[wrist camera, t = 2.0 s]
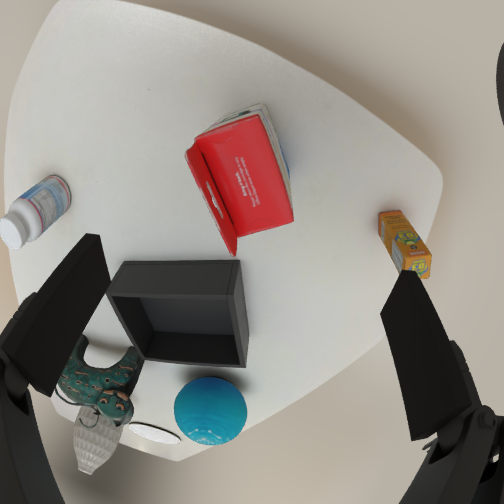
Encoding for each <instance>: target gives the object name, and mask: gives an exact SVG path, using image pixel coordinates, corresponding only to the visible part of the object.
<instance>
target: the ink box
mask: <svg viewBox="0 0 504 504" xmlns="http://www.w3.org/2000/svg"><path fill="white" fill-rule="evenodd" d="M194 142H195V143H194V144H193V146H192V147H191V148H190V149H188V150H187V151H186V153H185V159H186V161H187V163H188V165H189V168H190V169H191V172H192V174H193V176H194V178H195V181H196V183H197V185H198V187H199V189H200V192H201V193H202V196H203V198H204V200H205V202H206V204H207V206H208V209H209V211H210V213H211V215H212V217H213V219H214V221H215V223H216V226H217V228H218V230H219V231H220V234H221V236H222V238H223V240H224V242H225V244H226V246H227V248H228V250H229V252H230V254H231V256H232V257H235V256H236V250H237V238H239V237H242V236H246V235H249V234H253V233H256V232H260V231H264V230H267V229H271V228H275V227H278V226H282V225H285V224H288V223H292V222H294V217H293V208H292V199H291V188H290V176H289V169H288V166H287V163H286V161H285V158H284V155H283V152H282V149H281V146H280V143H279V141H278V138H277V135H276V132H275V129H274V127H273V124H272V121H271V119H270V116H269V113H268V111H267V108H266V105H265V103H260V104H257V105H254V106H252V107H249V108H246V109H243V110H241V111H238V112H235V113H232V114H230V115H227V116H224V117H222V118H220V119H219V120H218V121H217V122H216V123H214V124H213V125H212V126H210V127H209V128H208V129H207V130H205V131H204V132H203V133H202V134H200V135H199V136H197V137H196V138H195V140H194ZM207 187H208V188H207ZM208 189H209V190H208ZM209 191H210V192H209ZM210 193H211V194H210ZM211 195H212V196H211ZM212 197H213V199H214V202H215V204H216V206H217V208H218V209H217V208H216V207H215V206H214V204H213V201H212ZM218 211H219V212H218Z"/></svg>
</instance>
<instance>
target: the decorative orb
mask: <svg viewBox="0 0 504 504" xmlns="http://www.w3.org/2000/svg"><path fill="white" fill-rule="evenodd" d="M174 415H175V420H176V422H177V425H178V427H179V428H180V430H181V431H182V432H183V433H184V434H185V435H186V436H187V437H189V438H190V439H191V440H193V441H195V442H197V443H200V444H205V445H219V444H223V443H226V442H228V441H230V440H232V439H234V438H235V437H236V436H237V435H238V434H239V433H240V432H241V430H242V428H243V427H244V425H245V422H246V419H247V406H246V403H245V400H244V398H243V396H242V394H241V392H240V391H239V390H238V389H237V388H236V387H235V386H234V385H232V384H231V383H229V382H227V381H226V380H223V379H220V378H216V377H202V378H198V379H195V380H193V381H191V382H189V383H188V384H186V385H185V386H184V387H183V388H182V390H181V391H180V392H179V393H178V395H177V397H176V399H175V403H174Z"/></svg>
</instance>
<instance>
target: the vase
mask: <svg viewBox="0 0 504 504" xmlns="http://www.w3.org/2000/svg"><path fill="white" fill-rule="evenodd" d="M96 410H97V409H96ZM94 412H96V411H95V410H94V409H92V408H88V407H85V406H81V408H80V410H79V413H78V415H77V418H76V422H75V425H74V432H73V444H74V449H75V453H76V457H77V460H78V469H79V470H81V471H83V472H85V473H87V474H90V475H92V473H93V471H94V470H95V469H97V468H98V467H99V466H101V465H102V464H103V463H105V462H106V461H107V460H108V459H109V458H110V456H111V455H112V454H113V452H114V451H115V449H116V447H117V445H118V443H119V440H120V437H121V434H122V431H123V427H124V425H120V426H119V427H116V426H115V424H112V423H111V422H109V421H108V420H106V419H105V418H104V417H103V416H99V420H98V422H97V417H98V415H95V414H93V413H94ZM79 418H81V421H82V423H83V424H84V425H86V426H93V425H94V424H95V423H96V422H97V425H96V426H95V427H93V428H87V427H85V426H83V425H82V424H81V423H80V421H79Z"/></svg>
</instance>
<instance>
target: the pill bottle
mask: <svg viewBox="0 0 504 504" xmlns="http://www.w3.org/2000/svg"><path fill="white" fill-rule="evenodd" d="M69 206H70V192H69V189H68V187H67V185H66V183H65V182H64V181H63V180H62V179H61V178H59V177H57V176H48V177H46V178H45V179H43V180H42V181H40V182H39V183H38V184H36V185H35V186H33V187H32V188H31V189H29V190H28V191H27V192H25V193H24V194H23V195H21V196H20V197H19V198H17V199H16V200H15V201H14V202H13V203H12V204H11V206H10V208H9V211H8V214H6V215H5V216H4V217H3V218H1V219H0V235H1V238H2V239H3V241H4V242H5V244H6V245H7V246H8V247H9V248H11V249H13V250H19V249H20V248H21V247H22V246H23V245H25V243H26V242H32V241H35V240H36V239H37V238H38V237H39V236H40V235H41V234H42V233H43V232H45V231H46V230H47V229H48V228H49V227H50V226H51V225H52V224H53V223H54V222H55V221H56V220H57V219H58V218H59V217H60V216H61V215H63V214H64V213H65V212H66V211H67V210H68V208H69Z"/></svg>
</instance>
